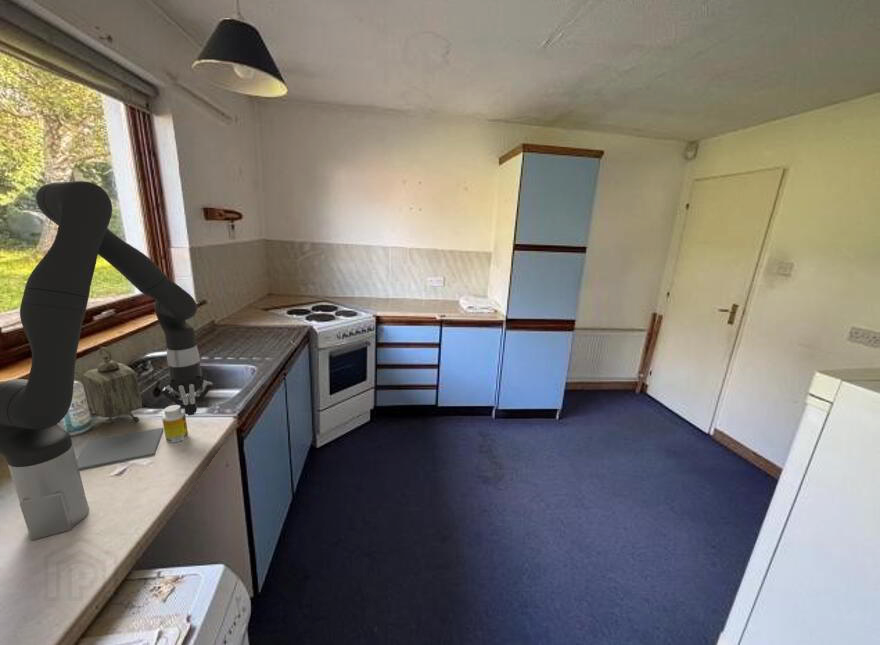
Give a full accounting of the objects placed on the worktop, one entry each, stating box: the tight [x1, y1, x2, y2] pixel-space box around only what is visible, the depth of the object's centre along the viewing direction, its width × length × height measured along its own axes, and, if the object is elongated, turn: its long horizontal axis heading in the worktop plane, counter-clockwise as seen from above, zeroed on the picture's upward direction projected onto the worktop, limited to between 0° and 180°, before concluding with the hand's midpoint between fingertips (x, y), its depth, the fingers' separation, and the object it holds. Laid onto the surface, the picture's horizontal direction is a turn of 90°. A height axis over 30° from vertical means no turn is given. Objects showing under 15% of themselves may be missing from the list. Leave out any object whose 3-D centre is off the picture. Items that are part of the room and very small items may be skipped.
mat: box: [76, 427, 164, 471], centre depth 104 cm, size 14×18×1 cm
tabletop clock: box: [81, 346, 143, 425], centre depth 114 cm, size 14×9×25 cm, turn 61°
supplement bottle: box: [161, 404, 189, 444], centre depth 109 cm, size 6×6×10 cm
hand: (191, 413), depth 110 cm, fingers closed
